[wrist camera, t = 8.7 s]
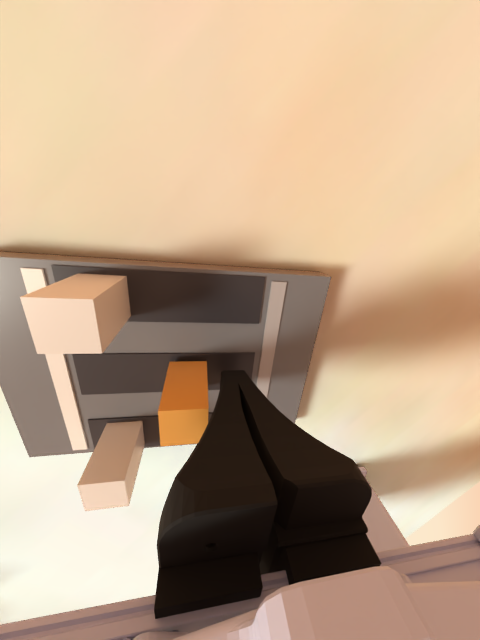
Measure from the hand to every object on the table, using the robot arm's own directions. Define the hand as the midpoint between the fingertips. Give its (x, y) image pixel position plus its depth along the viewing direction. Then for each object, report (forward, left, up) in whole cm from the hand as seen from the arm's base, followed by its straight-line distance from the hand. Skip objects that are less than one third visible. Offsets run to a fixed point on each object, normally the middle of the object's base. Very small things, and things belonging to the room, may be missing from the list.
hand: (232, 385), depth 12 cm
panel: (+3, 0, -3) cm, 4 cm away
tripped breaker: (+2, 0, -1) cm, 3 cm away
